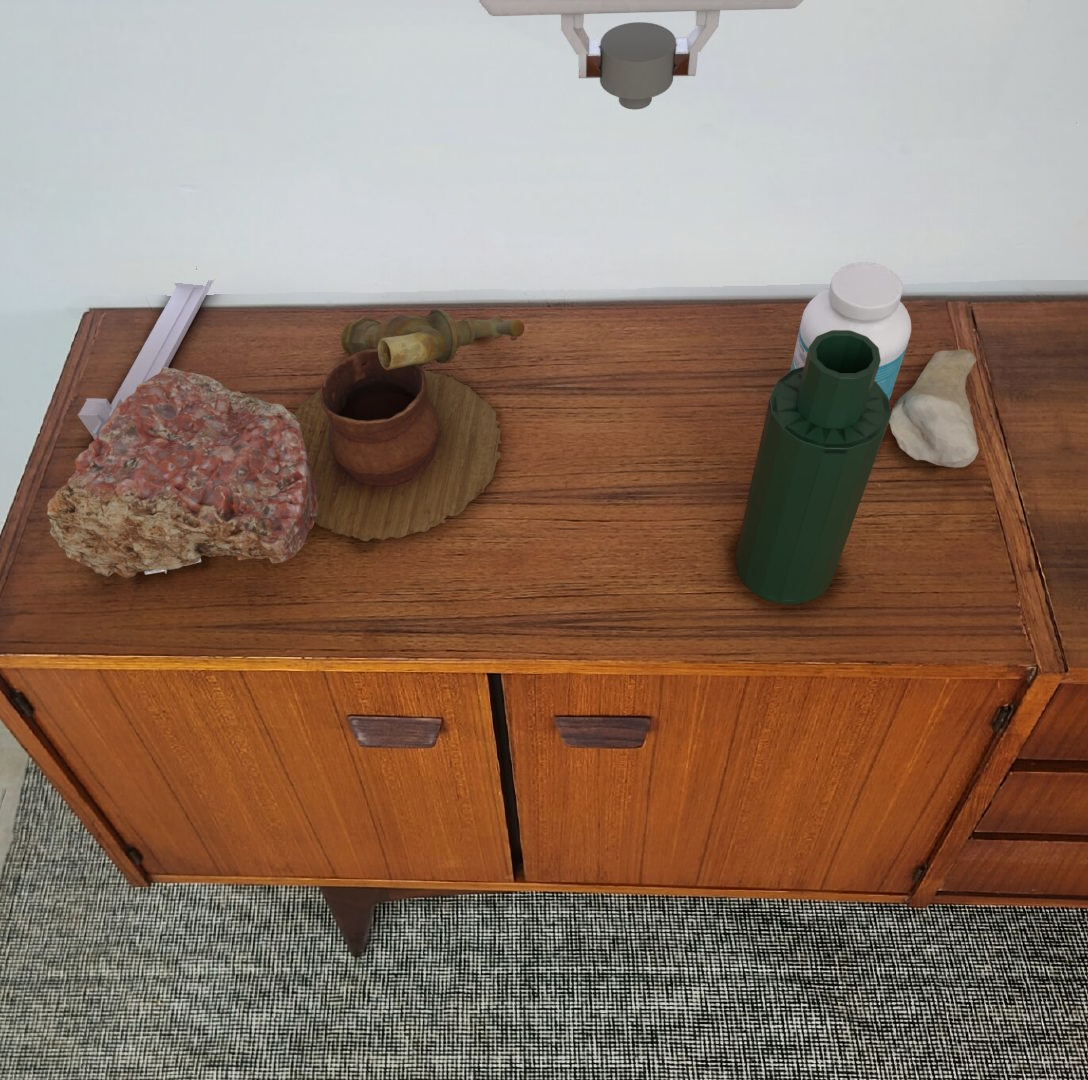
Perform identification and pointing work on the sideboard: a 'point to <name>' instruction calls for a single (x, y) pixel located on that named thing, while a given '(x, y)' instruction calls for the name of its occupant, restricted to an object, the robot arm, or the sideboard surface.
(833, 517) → the bottle
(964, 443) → the beige lumpy piece
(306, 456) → the rock
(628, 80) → the cylinder
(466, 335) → the faucet
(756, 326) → the sideboard surface
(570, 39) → the robot arm
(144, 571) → the card
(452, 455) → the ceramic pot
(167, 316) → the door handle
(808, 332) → the pill bottle
